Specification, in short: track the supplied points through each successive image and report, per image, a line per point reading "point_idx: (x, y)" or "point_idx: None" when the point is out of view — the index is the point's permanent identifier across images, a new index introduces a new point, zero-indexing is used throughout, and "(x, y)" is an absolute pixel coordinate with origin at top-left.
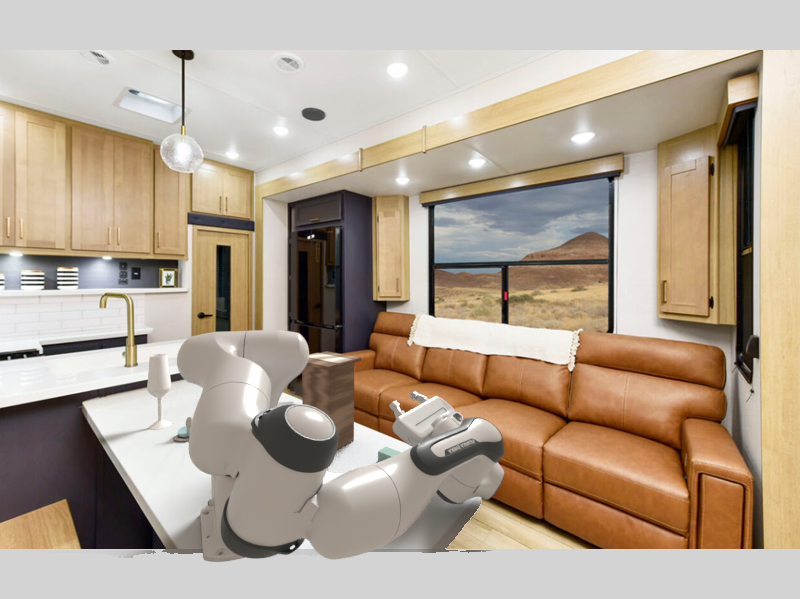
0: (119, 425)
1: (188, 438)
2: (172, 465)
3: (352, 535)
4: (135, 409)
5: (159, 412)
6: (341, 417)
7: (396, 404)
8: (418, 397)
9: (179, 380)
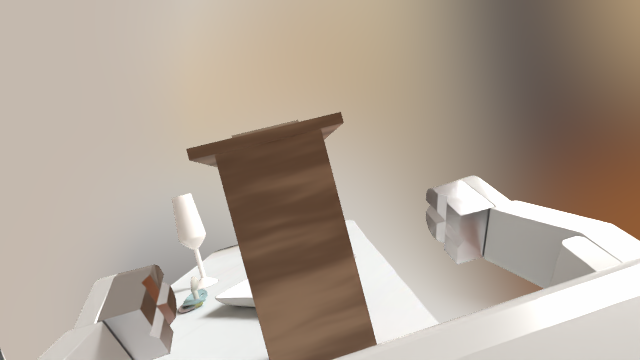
0: (186, 280)
1: (186, 308)
2: None
3: None
4: (222, 262)
5: (199, 267)
6: (306, 308)
7: (95, 309)
8: (500, 233)
9: None
